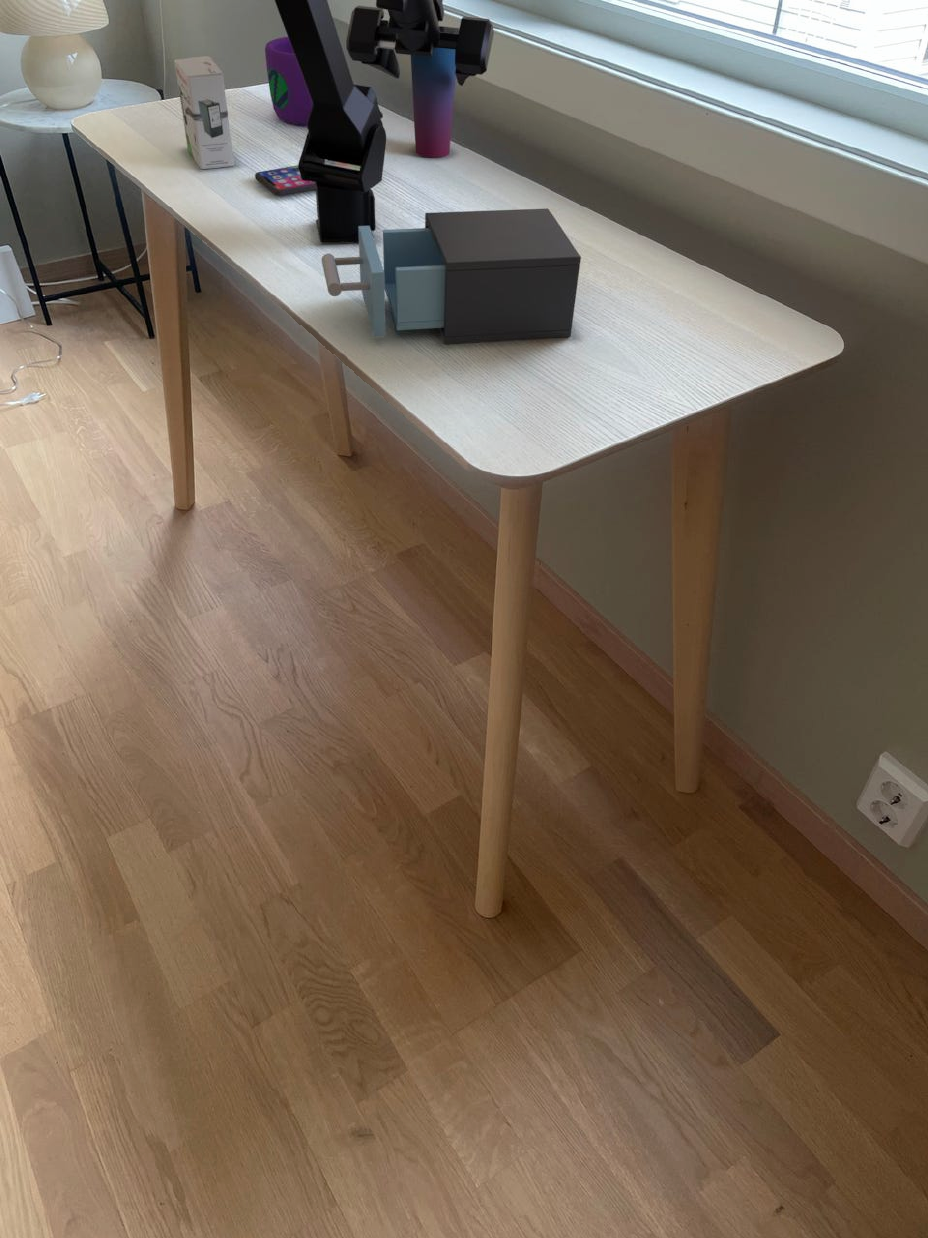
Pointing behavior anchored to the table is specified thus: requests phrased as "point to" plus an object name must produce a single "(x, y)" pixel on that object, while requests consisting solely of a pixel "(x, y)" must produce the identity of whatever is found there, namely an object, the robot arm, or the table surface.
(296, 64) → the mug
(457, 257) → the dark grey drawer cabinet
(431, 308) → the light blue drawer
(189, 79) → the ink box
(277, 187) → the smartphone
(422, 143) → the cup
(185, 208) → the table surface
